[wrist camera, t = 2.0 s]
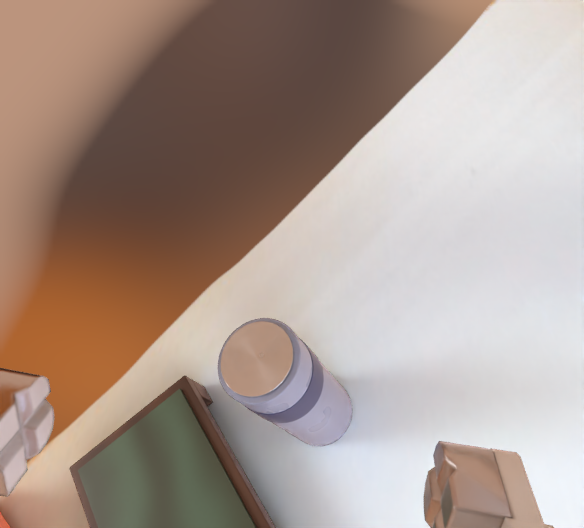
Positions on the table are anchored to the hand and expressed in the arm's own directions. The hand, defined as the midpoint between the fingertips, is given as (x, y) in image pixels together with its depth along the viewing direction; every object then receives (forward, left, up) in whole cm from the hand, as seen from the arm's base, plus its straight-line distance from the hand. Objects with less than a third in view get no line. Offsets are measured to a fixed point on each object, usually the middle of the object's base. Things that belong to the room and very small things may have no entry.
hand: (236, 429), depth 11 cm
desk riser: (+14, -10, -31) cm, 35 cm away
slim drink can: (+1, -10, -31) cm, 32 cm away
